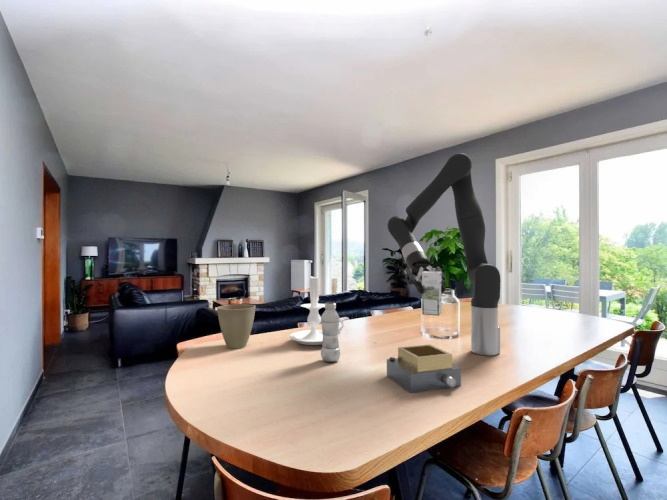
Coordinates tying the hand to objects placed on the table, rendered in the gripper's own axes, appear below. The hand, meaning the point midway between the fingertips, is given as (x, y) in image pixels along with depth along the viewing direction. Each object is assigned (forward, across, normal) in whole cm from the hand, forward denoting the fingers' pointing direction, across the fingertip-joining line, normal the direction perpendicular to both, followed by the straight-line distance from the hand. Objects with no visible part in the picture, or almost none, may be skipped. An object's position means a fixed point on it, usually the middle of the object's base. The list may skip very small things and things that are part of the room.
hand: (433, 291), depth 118 cm
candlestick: (-11, -29, +45) cm, 55 cm away
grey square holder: (+27, -12, +7) cm, 30 cm away
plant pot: (-14, -62, +48) cm, 80 cm away
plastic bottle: (+8, -32, +27) cm, 43 cm away
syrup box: (+5, 0, +6) cm, 8 cm away
